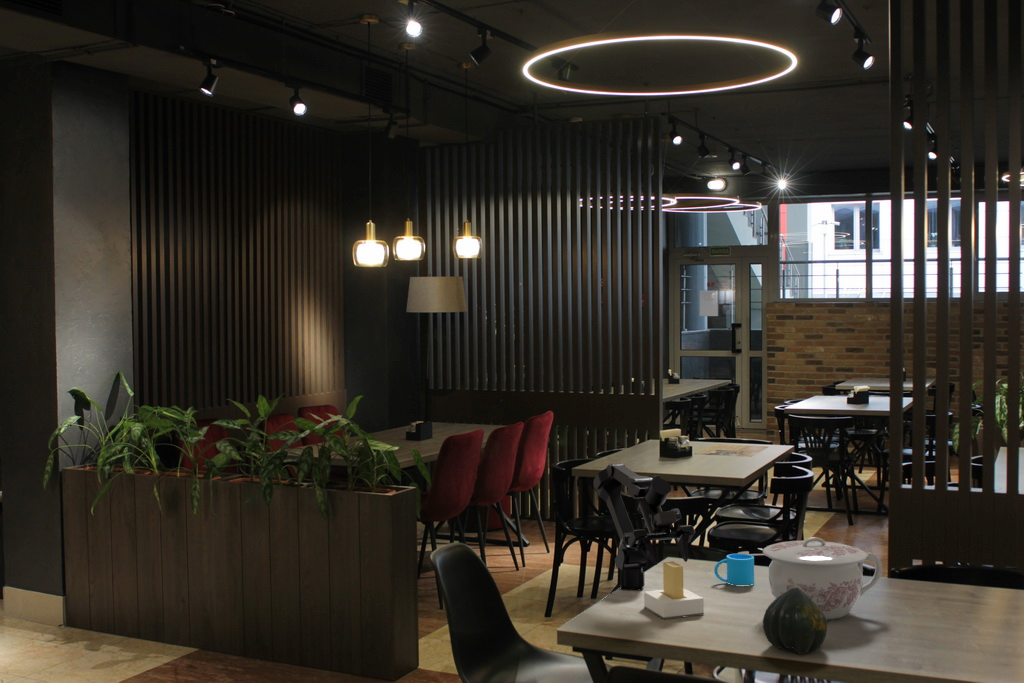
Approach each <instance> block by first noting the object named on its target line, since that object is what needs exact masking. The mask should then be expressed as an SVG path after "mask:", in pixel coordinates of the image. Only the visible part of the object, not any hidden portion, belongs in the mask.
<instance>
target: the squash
mask: <svg viewBox="0 0 1024 683" xmlns="http://www.w3.org/2000/svg"><path fill="white" fill-rule="evenodd" d="M762 620H763V621H762V626H763V631H764V635H765V638H766V639H767V641H769V643H770V645H772V646H773V647H774V648H777V649H781V648H782V649H790V650H791V649H794V651H795V652H796V653H797V654H799V655H804V654H806V653H807V652H809V653H811V652H815V651H817V650H818V649H820V647H821V646H822V645H823V643H824V641H825V639H826V635H827V631H828V630H827V629H828V625H827V624H828V623H827V621H828V620H826V617H825V615H824V613H823V612H822V610H821V609H820V608H819V607H818V606H817V605H816V604H815V603H814V602H813V601H812V600H811V599H810V598H809V597H808V596H807V595H806V594H805V593H804V592H803V591H802V590H801V589H799V588H798V587H796V588H792V589H790V590H788V591H786V592H785V593H783V594H782V595H780V596H779V597H777V598H776V599H775V598H774V599H773V601H772V602H771V603H770V604H769V605H768V606H767V608H766V610H765V613H764V616H763V619H762Z"/></svg>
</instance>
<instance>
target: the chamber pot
mask: <svg viewBox="0 0 1024 683" xmlns="http://www.w3.org/2000/svg"><path fill="white" fill-rule="evenodd" d="M762 554H763V555H765V556H766V557H768V558H769V559H771V561H770V564H769V566H768V567H767V568H768V581H769V585H770V589H771V594H772V595H773V597H774V600H775V599H776V598H777V597H779V596H780V595H782V594H783V593H785V592H786V591H788V590H790V589H792V588H796V587H798V588H799V589H801V590H802V591H803V592H804V593H805V594H806V595H807V596H808V597H809V598H810V599H811V600H812V601H813V602H814V603H815V604H816V605H817V606H818V607H819V608H820V609H821V610H822V612H823V613H824V615H825V617H826V621H831V620H836V619H840V618H842V617H846V616H847V615H848V614H849V613H850V612H851V611H852V610H853V608H854V606H855V605H856V603H857V602H858V600H859V599H860V598H861V597H862V595H864V594H865V593H866V592H867V591H869V589H871V588H873V587H874V586H875V585H876V584H877V583H878V581H879V580H880V579H881V577H882V574H883V564H882V562H881V560H880V558H879V557H878V556H877V554H875V553H872V552H869V551H868V552H866V550H865V551H864V550H862V549H861V548H858V547H855V546H852V545H848V544H845V543H840V542H833V541H825V540H824V539H823V538H820V537H815V536H814V537H809V538H807V539H806V540H790V541H781V542H777V543H773V544H770V545H766V547H764V548H763V549H762ZM867 561H871V562H874V567H875V568H874V569H875V571H874V574H873V576H872V577H871V578H870V579H869V580H868V582H866V583H864V582H863V580H864V579H863V578H864V577H863V575H864V574H863V572H864V569H863V568H864V567H863V566H864V563H865V562H867ZM863 583H864V584H863Z"/></svg>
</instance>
